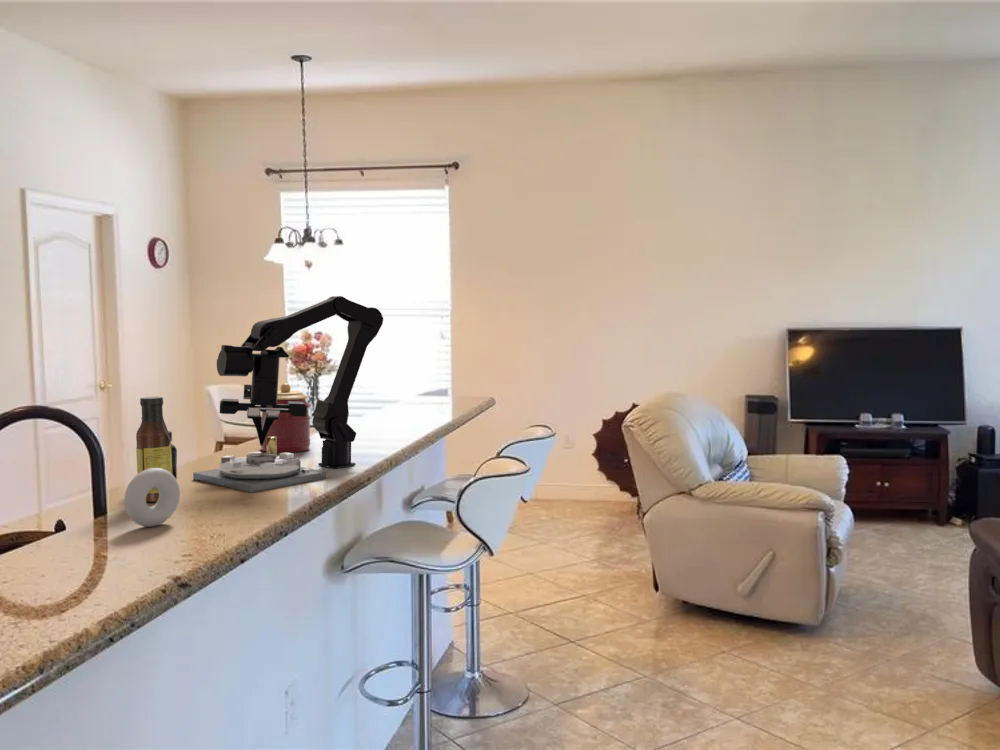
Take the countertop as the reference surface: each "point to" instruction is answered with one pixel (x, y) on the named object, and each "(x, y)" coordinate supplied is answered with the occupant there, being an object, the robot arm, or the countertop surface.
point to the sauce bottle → (153, 441)
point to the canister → (289, 424)
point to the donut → (139, 491)
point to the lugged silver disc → (261, 464)
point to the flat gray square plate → (259, 480)
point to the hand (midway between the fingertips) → (261, 445)
